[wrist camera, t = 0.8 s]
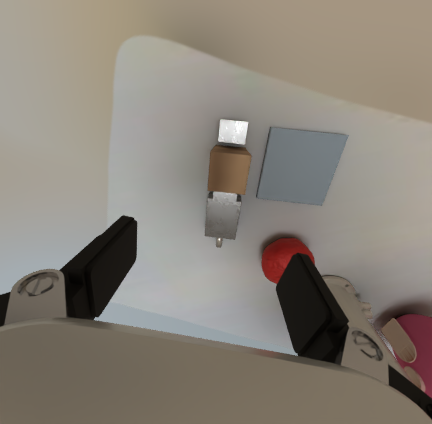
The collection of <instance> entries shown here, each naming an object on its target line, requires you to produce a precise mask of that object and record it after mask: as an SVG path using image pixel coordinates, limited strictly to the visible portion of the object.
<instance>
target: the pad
mask: <svg viewBox="0 0 432 424" xmlns="http://www.w3.org/2000/svg"><path fill="white" fill-rule="evenodd" d="M348 136H349V135H341V134H332V133H322V132H312V131H302V130H293V129H283V128H273V127H270V131H269V136H268V141H267V146H266V151H265V156H264V161H263V166H262V171H261V176H260V181H259V186H258V190H257V195H256V197H257V198H258V199H267V200H276V201H285V202H293V203H302V204H311V205H320V206H322V204H323V202H324V199H325V196H326V194H327V191H328V189H329V186H330V183H331V181H332V178H333V175H334V173H335V170H336V168H337V165H338V162H339V160H340V157H341V154H342V152H343V149H344V147H345V144H346V141H347V139H348Z"/></svg>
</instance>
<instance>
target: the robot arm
mask: <svg viewBox="0 0 432 424" xmlns="http://www.w3.org/2000/svg"><path fill="white" fill-rule="evenodd" d="M136 255H137V221H135V220H134V218H133V217H128V216H121V217H120V218H119V219H118V220H117V221H116V222H115V223H114V224H112V225H111V226H110V227H109V228H108V229H107V230H106V231H105V232H104V233H103V234H101V235H99V236H98V237H96V238H95V239H94V240H93V241H92V242H91V243H90V244H88V245H87V246H86V247H85V248H84V249H83V250H82V251H81V252H80V253H78V254H77V255H76V256H75V257H74V258H73V259H72V260H70V261H69V262H68V263H67V264H66V265H65V266H64V267H63V268H62V269H60V270H55V269H46V270H39V271H36V272H33V273H31V274H28V275H26V276H25V277H23V278H22V279H20V280H19V281H18V282H17V283H16V284H15V285H14V286H13V288H12V290H11V292H9V293H6V294H2V295H0V424H432V398H431V397H429V396H428V395H427V394H426V393H424V392H423V391H422V390H421V389H419V388H418V387H417V386H416V385H415V384H414V383H413V382H412V380H411V379H410V378H409V376H408V375H407V373H406V372H405V371H404V369H403V368H402V367H401V365H400V364H399V363H398V361H397V360H396V358H395V357H394V356H393V354H392V353H391V351H390V350H389V349H388V347H387V346H386V345H385V343H384V342H383V340H382V339H381V338H380V336H379V335H378V333H377V332H376V331H375V329H374V328H373V326H372V325H371V324H370V322H369V321H368V319H371V318H372V312H371V311H370V310H368V309H371V305H370V304H369V303H366V302H359V301H358V300H357V298H356V292H355V289H354V287H353V286H352V285H351V284H350V282H348V281H347V280H345V279H343V278H340V277H336V276H324V277H322V276H321V275H320V273H319V271H318V270H317V268H316V267H315V265H314V263H313V262H312V260H311V259H310V257H309V256H308V255H307V254H302V253H296V254H294V255H293V256H292V257H291V259H290V261H289V263H288V265H287V267H286V268H285V270H284V272H283V274H282V276H281V278H280V280H279V281H278V283H277V286H276V291H277V295H278V298H279V302H280V305H281V308H282V312H283V315H284V318H285V322H286V325H287V328H288V332H289V335H290V338H291V342H292V345H293V348H294V351H295V352H296V353H298V356H295V355H290V354H284V353H279V352H273V351H267V350H262V349H257V348H252V347H246V346H241V345H235V344H230V343H224V342H219V341H212V340H208V339H202V338H195V337H191V336H185V335H179V334H173V333H167V332H162V331H156V330H151V329H145V328H139V327H133V326H127V325H121V324H114V323H108V322H102V321H95V320H94V318H95V317H99V316H100V314H101V313H102V312H103V310H104V309H105V307H106V306H107V304H108V303H109V301H110V300H111V298H112V296H113V295H114V293H115V292H116V290H117V289H118V287H119V286H120V284H121V283H122V281H123V280H124V278H125V276H126V275H127V273H128V272H129V270H130V269H131V267H132V266H133V264H134V262H135V260H136ZM362 308H363V309H362ZM367 318H368V319H367Z"/></svg>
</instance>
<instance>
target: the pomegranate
mask: <svg viewBox="0 0 432 424" xmlns="http://www.w3.org/2000/svg"><path fill="white" fill-rule="evenodd" d="M296 253H302V254H307V255H308V256H309V257H310V259H311V260H312V262H313V263H314V265H315V261H314V257H313V254H312V252H311V251H310V250H309V249H308V247H306V246H305V245H304V244H303V243H302V242H301V241H300V240H298V239H295V238H281V239H278V240H276V241H275V242H273V243H271V244H269V245H268V246H267V247H266V248H265V250H264V252H263V255H262V262H261V263H262V270H263V272H264V275H265V276H266V278H267V279H269V280H270V281H272V282H274V283H276V284H277V283H278V281H279V280H280V278H281V276H282V274H283V272H284V270H285V268H286V267H287V265H288V263H289V261H290V259H291V257H292V256H293V255H294V254H296Z"/></svg>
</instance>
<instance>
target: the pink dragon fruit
mask: <svg viewBox="0 0 432 424" xmlns="http://www.w3.org/2000/svg"><path fill="white" fill-rule="evenodd" d="M381 331H382V333H383V334H384V336H385V337H386V339H387V340H388V342H389V343H390V345H391V346H392V348H393V352H394V354H395V357H396V359H397V361H398V363H399V364H400V365H401V367H402V368H403V369H404V371H405V372H406V373H407V375H408V376H409V378H410V379H411V380H412V382H413V383H414V384H415V385H416V386H417V387H418V388H419V389H421V390H422V391H423V392H424V393H426V394H427V395H428V396H429V397H431V398H432V318H431V317H428V316H424V315H418V314H407V315H403V316H400V317H399V318H397V319H394V318H392V319H391V320H390V321H389V322H388V323H387V324H386V325H385V326H384V327H383V328H382V329H381Z"/></svg>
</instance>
